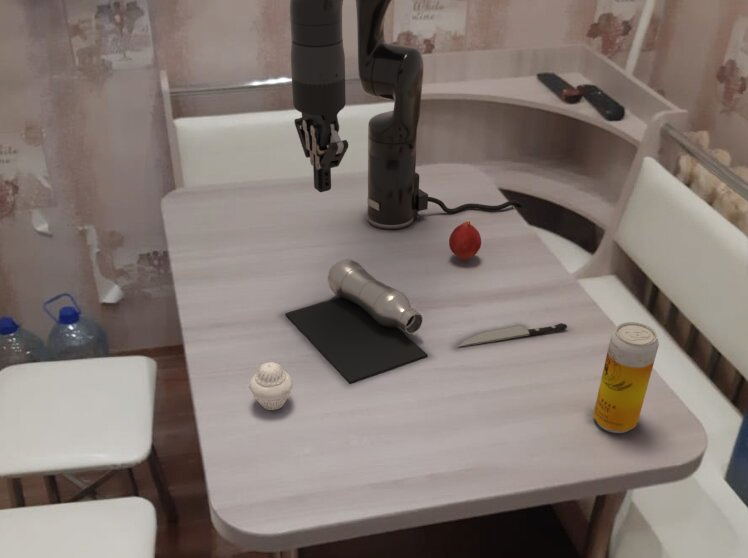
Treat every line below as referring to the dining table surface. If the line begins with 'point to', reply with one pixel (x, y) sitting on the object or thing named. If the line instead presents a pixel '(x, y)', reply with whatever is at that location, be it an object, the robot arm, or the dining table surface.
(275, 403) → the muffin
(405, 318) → the plastic bottle
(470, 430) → the dining table surface
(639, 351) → the beer can
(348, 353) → the rubber mat
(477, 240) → the onion
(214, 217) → the dining table surface
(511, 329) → the chef's knife
